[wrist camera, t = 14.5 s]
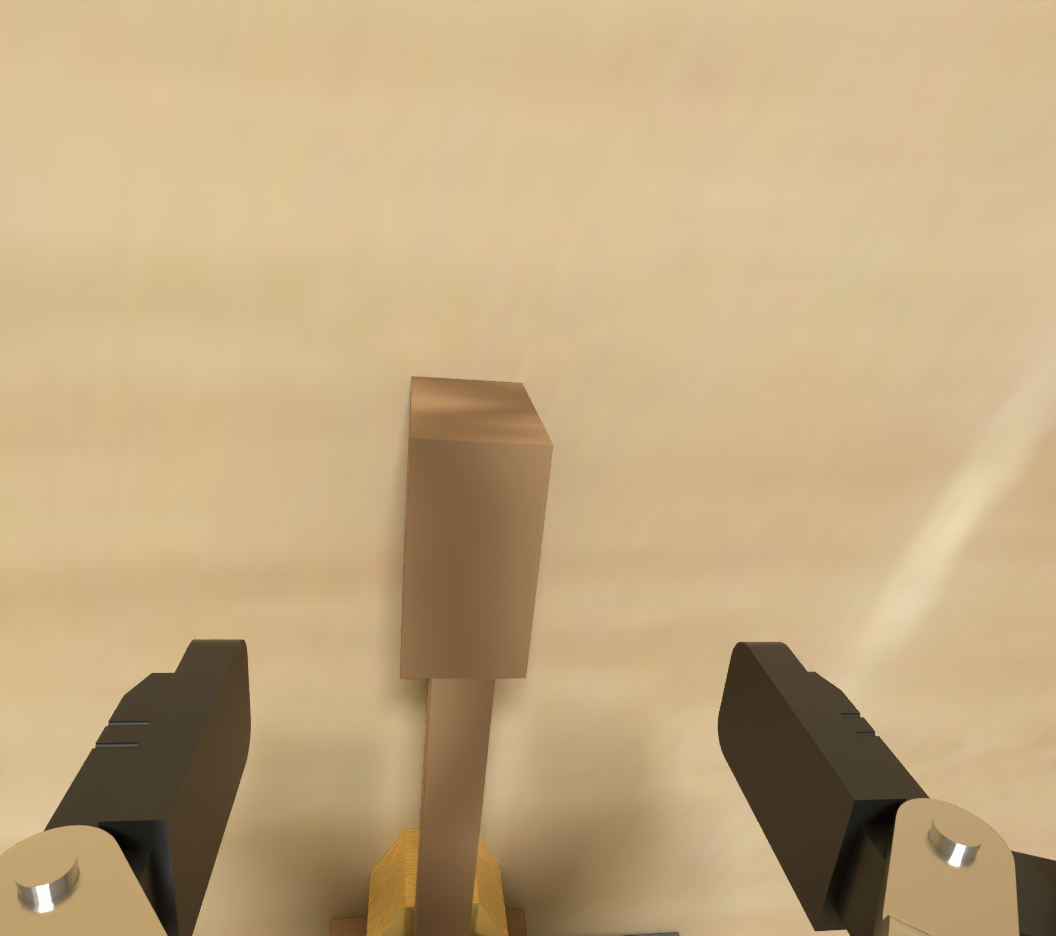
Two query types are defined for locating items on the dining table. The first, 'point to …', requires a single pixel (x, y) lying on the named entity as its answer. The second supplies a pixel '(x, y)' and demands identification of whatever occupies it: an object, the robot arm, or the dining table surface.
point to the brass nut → (398, 889)
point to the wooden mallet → (465, 613)
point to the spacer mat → (663, 935)
